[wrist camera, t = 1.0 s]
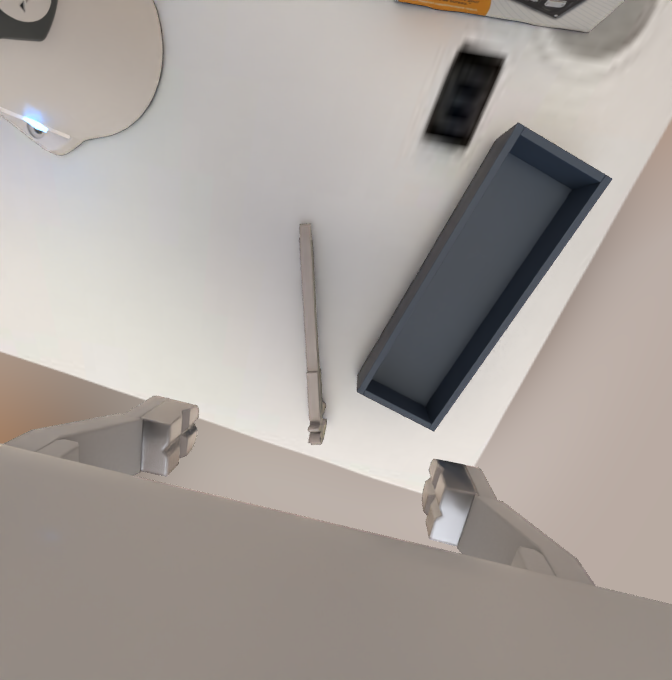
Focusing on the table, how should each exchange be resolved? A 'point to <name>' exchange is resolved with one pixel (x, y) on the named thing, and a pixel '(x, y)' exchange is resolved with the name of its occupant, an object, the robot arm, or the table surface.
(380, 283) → the table surface
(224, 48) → the table surface
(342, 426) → the table surface
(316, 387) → the caliper
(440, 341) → the tray
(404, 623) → the robot arm
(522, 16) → the hard drive box
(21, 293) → the table surface
